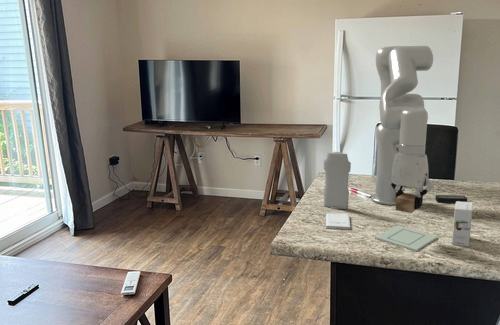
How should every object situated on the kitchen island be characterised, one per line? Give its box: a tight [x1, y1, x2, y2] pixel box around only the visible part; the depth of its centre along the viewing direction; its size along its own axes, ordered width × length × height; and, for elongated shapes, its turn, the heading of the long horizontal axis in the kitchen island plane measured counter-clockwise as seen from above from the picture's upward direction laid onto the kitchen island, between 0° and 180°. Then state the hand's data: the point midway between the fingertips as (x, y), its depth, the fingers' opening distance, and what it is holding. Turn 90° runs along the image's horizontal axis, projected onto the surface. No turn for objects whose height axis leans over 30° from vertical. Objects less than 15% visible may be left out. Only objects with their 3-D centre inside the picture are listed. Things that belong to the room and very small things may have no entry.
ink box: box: [451, 201, 473, 247], centre depth 139 cm, size 8×5×12 cm, turn 154°
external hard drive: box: [325, 212, 351, 231], centre depth 158 cm, size 2×8×12 cm
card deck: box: [394, 190, 417, 214], centre depth 140 cm, size 5×8×4 cm, turn 141°
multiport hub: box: [434, 194, 468, 204], centre depth 177 cm, size 4×11×2 cm, turn 82°
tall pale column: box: [323, 151, 352, 210], centre depth 171 cm, size 11×4×22 cm, turn 61°
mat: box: [374, 224, 438, 252], centre depth 143 cm, size 14×14×1 cm
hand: (408, 205), depth 140 cm, fingers closed on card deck, 5 cm apart
